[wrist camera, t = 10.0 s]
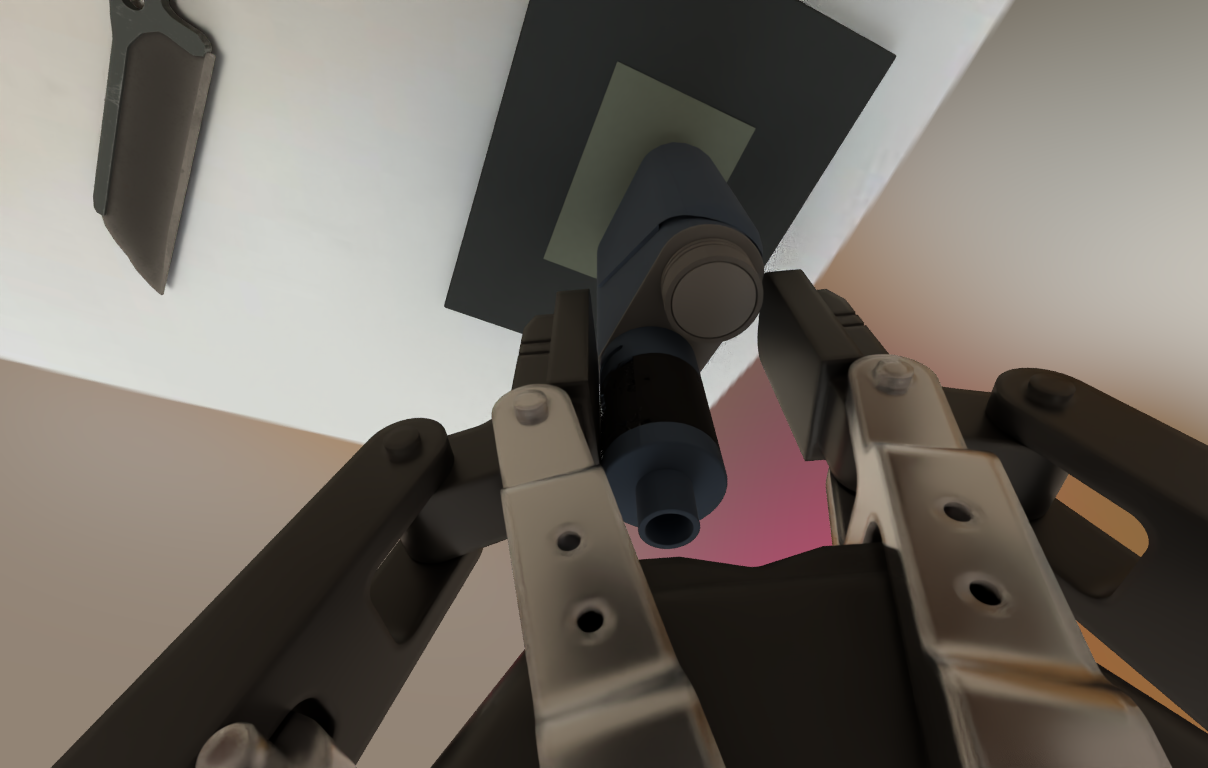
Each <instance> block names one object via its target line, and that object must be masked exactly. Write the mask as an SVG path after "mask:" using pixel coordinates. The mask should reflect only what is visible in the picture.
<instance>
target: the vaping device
mask: <svg viewBox="0 0 1208 768" xmlns="http://www.w3.org/2000/svg"><path fill="white" fill-rule="evenodd" d="M762 256H763V246H762V242H761V239H760V235H759V232H758V230H757V229H756V227H755V226H754V224H753V222H752V221H751V219H750V218H749V216H748V215H747V213H746V212H745V210H744V209H743V207H742V205H741V204H740V202H739V201H738V199H737V198H736V196H735V195H734V193H733V192H732V190H731V189H730V187H729V185H728V184H727V182H726V181H725V179H724V178H723V176H722V175H721V173H720V172H719V170H718V168H717V167H716V165H715V164H714V163H713V161H712V160H711V158H710V157H709V156H708V155H707V154H706V153H704V152H703V151H702V150H701V149H699V148H697V147H695V146H692V145H689V144H687V143H676V142H671V143H667V144H663V145H660V146H659V147H657V148H655V149H653V150H652V151H650V152H649V153H648V154H647V155H646V156H645V157H644V159H643V160H642V162H641V164H640V166H639V168H638V170H637V172H636V174H635V176H634V178H633V180H632V181H631V183H630V185H629V187H628V189H627V191H626V193H625V195H624V197H623V199H622V201H621V203H620V205H619V207H618V209H617V210H616V212H615V214H614V216H613V218H612V220H611V222H610V224H609V226H608V228H607V230H606V232H605V234H604V236H603V238H602V239H601V241H600V243H599V246H598V249H597V353H598V365H599V384H600V409H602V410H600V451H602V452H600V453H601V466H602V468H603V470H604V472H605V474H606V477H607V480H608V482H609V485H610V487H611V490H612V493H613V495H614V498H615V500H616V503H617V505H618V508H619V511H620V513H621V516H622V518H623V521H624V522H625V523H628V524H630V525H633V526H636V527H638V532H639V535H640V538H641V539H642V540H643V541H644V542H645V543H647V544H648V545H650V546H653V547H656V548H661V549H672V548H678V547H681V546H684V545H686V544H688V543H690V542H691V541H692V540H694V539H695V538H696V536H697V535H698V533H699V531H700V522H699V520H701V519H703V518H704V517H706V516H707V515H708V514H710V513H711V512H712V511H713V510H714V509H715V508H716V507H717V506H718V505H719V504H720V502H721V501H722V499H723V497H724V495H725V493H726V489H727V474H726V470H725V466H724V463H723V459H722V455H721V451H720V447H719V444H718V440H717V436H716V432H715V428H714V425H713V421H712V417H711V413H710V409H709V406H708V402H707V398H706V394H705V390H704V387H703V383H702V379H701V375H700V372H701V370H702V369H703V368H704V366H705V365H706V364H707V362H708V361H709V359H710V358H711V357H712V355H713V354H714V353H715V351H716V350H717V349H718V347H719V346H720V344H721V343H722V342H723V341H726V340H729V339H731V338H734V337H736V336H737V335H739V334H741V333H742V332H743V331H745V330H746V329H747V328H748V327H749V326H750V325H751V324H752V323H753V322H754V320H755V319H756V317H757V316H758V314H759V312H760V309H761V307H762V302H763V286H762V279H763V276H764V264H763V260H762ZM602 412H603V413H602ZM602 420H603V421H602ZM602 456H603V457H602Z"/></svg>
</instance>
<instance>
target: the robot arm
mask: <svg viewBox="0 0 1208 768" xmlns="http://www.w3.org/2000/svg"><path fill="white" fill-rule="evenodd" d="M762 286H763V302H762V307H761V309H760V312H759V323H758V352H759V357H760V360H761V363H762V365H763V368H764V370H765V372H766V374H767V377H768V379H769V381H770V383H771V386H772V388H773V390H774V392H775V395H776V397H777V399H778V401H779V404H780V406H781V408H782V410H783V413H784V415H785V417H786V419H787V421H788V424H789V426H790V428H791V431H792V433H793V435H794V437H795V439H796V442H797V444H798V446H799V448H800V451H801V453H802V455H803V457H804V460H805V461H814V460H826V461H827V463H828V465H829V469H828V474H827V479H826V493H827V502H828V510H829V519H830V528H831V537H832V545H833V546H822V547H819V548H816V549H813V550H810V551H807V552H803V553H801V554H797V555H794V556H791V557H788V558H785V559H782V560H779V561H775V562H772V563H769V564H766V565H763V566H759V567H746V566H739V565H732V564H726V563H719V562H712V561H705V560H699V559H692V558H684V557H671V558H670V557H669V558H657V559H642V560H638V557H637V555H636V552H635V549H634V547H633V544H632V542H631V539H630V537H629V534H628V531H627V529H626V526H625V524H624V521H623V518H622V516H621V513H620V511H619V508H618V505H617V503H616V500H615V498H614V495H613V493H612V490H611V487H610V485H609V482H608V480H607V477H606V474H605V472H604V470H603V468H602V466H601V453H600V452H601V451H600V396H599V365H598V353H597V345H596V336H595V328H594V320H593V311H592V303H591V295H590V290H589V289H580V290H569V291H558V292H557V293H556V301H555V310H554V314H545V315H535V316H534V317H533V319H532V320H531V321H530V322H529V323H528V324H527V325H526V326H525V327H524V329H523V334H522V339H521V345H520V349H519V356H518V359H517V364H516V369H515V374H514V379H513V385H512V390H511V391H510V392H508V393H506V394H505V395H503V396H502V397H501V398H500V399H499V400H498V401H497V402H496V403H495V405H494V407H493V409H492V419H491V420H489V421H487V422H486V423H484V424H481V425H479V426H476V427H474V428H471V429H467V430H464V431H461V432H457V433H454V434H451V435H448V436H447V434H446V431H445V428H444V427H443V426H442V425H441V424H440V423H439V422H437V421H435V420H432V419H427V418H412V419H406V420H402V421H399V422H396V423H393V424H391V425H389V426H387V427H385V428H383V429H382V430H380V431H379V432H377V433H376V434H375V435H373V436H372V437H371V438H370V439H369V440H368V441H367V442H366V443H365V444H364V445H363V446H362V447H361V448H360V450H359V451H358V452H357V453H356V454H355V455H354V456H353V457H352V458H351V459H350V460H349V461H348V462H347V463H346V464H345V465H344V466H343V467H342V468H341V469H340V470H339V471H338V472H337V473H336V474H335V475H334V476H333V477H332V479H330V480H329V482H328V483H327V484H326V485H325V486H324V487H323V488H322V489H321V490H320V491H319V492H318V493H317V494H316V495H315V496H314V497H313V498H312V499H311V500H310V501H309V502H308V503H307V504H306V505H305V506H304V507H303V508H302V509H301V510H300V512H298V513H297V514H296V516H295V517H294V518H293V519H292V520H291V521H290V522H289V523H288V524H287V525H286V526H285V527H284V528H283V529H282V530H281V531H280V532H279V533H278V534H277V535H276V536H275V537H274V538H273V539H272V540H271V541H270V542H269V543H268V544H267V545H266V546H265V547H264V549H263V550H262V551H261V552H260V553H259V554H258V555H257V556H256V557H255V558H254V559H253V560H252V561H251V562H250V563H249V564H248V565H247V566H246V567H245V568H244V569H243V570H242V571H241V572H240V573H239V574H238V575H237V576H236V577H235V579H233V580H232V582H231V583H230V584H229V585H228V586H227V587H226V588H225V589H224V590H223V591H222V592H221V593H220V594H219V595H218V596H217V597H216V598H215V599H214V600H213V601H212V602H211V603H210V604H209V605H208V606H207V607H206V608H205V609H204V611H202V613H201V614H200V615H199V616H198V617H197V618H196V619H195V620H194V621H193V622H192V623H191V624H190V625H189V626H188V627H187V628H186V629H185V630H184V631H183V632H182V633H181V634H180V635H179V636H178V637H177V638H176V639H175V640H174V641H173V642H172V643H171V644H170V645H169V646H168V648H167V649H166V650H165V651H164V652H163V653H162V654H161V655H160V656H159V657H158V658H157V659H156V660H155V661H154V662H153V663H152V664H151V665H150V666H149V667H148V668H147V669H146V670H145V671H144V672H143V673H142V675H140V676H139V678H138V679H136V681H135V682H134V683H133V684H132V685H131V686H130V687H129V688H128V689H127V690H126V691H125V692H124V693H123V694H122V695H121V696H120V697H119V698H118V699H117V700H116V701H115V702H114V703H113V705H111V706H110V707H109V709H107V710H106V711H105V713H104V714H103V715H102V716H101V717H100V718H99V719H98V720H97V721H96V722H95V723H94V724H93V725H92V726H91V727H90V728H89V729H88V730H87V731H86V732H85V733H84V734H83V735H82V736H81V737H80V738H79V740H77V741H76V742H75V743H74V745H73V746H72V747H71V748H70V749H69V750H68V751H67V752H66V753H65V754H64V755H63V756H62V757H61V758H60V759H59V760H58V761H57V762H56V763H55V764H54V765H53V766H52V768H356V766H355V765H356V764H357V762H358V760H359V759H360V757H361V755H362V754H363V752H364V750H365V749H366V747H367V745H368V744H369V742H370V740H371V739H372V737H373V735H374V733H375V732H376V730H377V729H378V727H379V725H380V724H381V722H382V720H383V718H384V717H385V715H386V713H387V712H388V710H389V708H390V707H391V705H392V703H393V702H394V700H395V698H396V697H397V695H398V693H399V692H400V690H401V688H402V687H403V685H404V683H405V682H406V680H407V678H408V677H409V675H410V673H411V671H412V670H413V668H414V666H415V665H416V663H417V661H418V660H419V658H420V656H421V655H422V653H423V651H424V650H425V648H426V646H427V644H428V642H429V641H430V640H431V638H432V636H433V634H434V633H435V631H436V630H437V628H438V626H439V625H440V623H441V621H442V620H443V618H444V616H445V614H446V613H447V611H448V609H449V608H450V606H451V604H452V603H453V601H454V599H455V598H456V596H457V594H458V593H459V591H460V589H461V588H462V586H463V584H464V583H465V581H466V579H467V578H468V576H469V574H470V572H471V571H472V569H473V567H474V566H475V564H476V562H477V561H478V559H479V557H480V555H481V553H482V550H483V548H484V547H487V546H489V545H492V544H495V543H498V542H500V541H503V540H506V539H508V545H509V551H510V558H511V563H512V570H513V577H514V583H515V589H516V595H517V602H518V608H519V615H520V620H521V627H522V634H523V640H524V647H525V649H524V651H523V652H522V653H521V654H520V656H519V657H518V658H517V660H516V661H515V662H514V664H513V665H512V666H511V667H510V668H509V670H508V671H507V672H506V673H505V675H504V676H503V677H502V678H501V680H500V681H499V682H498V684H497V685H496V686H495V687H494V688H493V690H492V691H491V693H490V694H489V695H488V696H487V697H486V699H485V700H484V701H483V702H482V704H481V705H480V706H479V707H478V709H477V710H476V711H475V712H474V714H473V715H472V716H471V718H470V719H469V720H468V721H467V722H466V724H465V725H464V726H463V728H462V729H461V730H460V731H459V733H458V734H457V735H456V736H455V738H454V739H453V740H452V741H451V743H450V744H449V745H448V746H447V748H446V749H445V750H444V751H443V753H442V754H441V755H440V756H439V758H438V759H437V760H436V762H435V763H434V764H433V765H432V767H431V768H1208V733H1206V732H1204V731H1203V730H1201V729H1200V728H1198V727H1196V726H1195V725H1193V724H1192V723H1190V722H1189V721H1187V720H1186V719H1184V718H1182V717H1181V716H1179V715H1178V714H1176V713H1174V712H1173V711H1171V710H1170V709H1168V708H1167V707H1165V706H1164V705H1162V704H1160V703H1159V702H1157V701H1156V700H1154V699H1153V698H1151V697H1149V696H1148V695H1146V694H1145V693H1143V692H1141V691H1140V690H1138V689H1137V688H1135V687H1133V686H1132V685H1130V684H1129V683H1127V682H1126V681H1124V680H1123V679H1121V678H1120V677H1118V676H1116V675H1115V674H1113V673H1112V672H1110V671H1109V670H1107V669H1105V668H1104V667H1102V666H1101V665H1099V664H1098V663H1096V662H1095V660H1094V658H1093V656H1092V654H1091V652H1090V650H1089V647H1088V646H1087V643H1086V641H1085V639H1084V637H1083V635H1082V633H1081V630H1080V629H1079V626H1078V624H1077V622H1076V620H1077V621H1078V622H1079V623H1080V624H1081V625H1083V626H1084V627H1085V628H1086V629H1087V630H1088V631H1090V632H1091V633H1092V634H1093V635H1094V636H1096V637H1097V638H1098V639H1099V640H1100V641H1101V642H1103V643H1104V644H1105V645H1106V646H1107V647H1109V648H1110V649H1111V650H1112V651H1114V652H1115V653H1116V654H1117V655H1118V656H1119V657H1121V658H1122V659H1123V660H1124V661H1125V662H1126V663H1128V664H1129V665H1130V666H1131V667H1132V668H1133V669H1135V670H1136V671H1137V672H1138V673H1139V674H1141V675H1142V676H1143V677H1144V678H1145V679H1146V680H1148V681H1149V682H1150V683H1151V684H1153V685H1154V686H1155V687H1156V688H1157V689H1158V690H1160V691H1161V692H1162V693H1163V694H1164V695H1165V696H1167V697H1168V698H1169V699H1170V700H1171V701H1173V702H1174V703H1175V704H1176V705H1177V706H1178V707H1180V708H1181V709H1182V710H1183V711H1185V712H1186V713H1187V714H1188V715H1189V716H1190V717H1192V718H1193V719H1194V720H1195V721H1196V722H1197V723H1199V724H1200V725H1201V726H1202V727H1203V728H1205V729H1206V730H1207V731H1208V445H1206V444H1204V443H1202V442H1200V441H1198V440H1196V439H1194V438H1192V437H1190V436H1188V435H1186V434H1184V433H1182V432H1180V431H1178V430H1176V429H1174V428H1172V427H1170V426H1168V425H1166V424H1164V423H1162V422H1160V421H1159V420H1157V419H1155V418H1153V417H1151V416H1149V415H1147V414H1145V413H1143V412H1141V411H1139V410H1137V409H1135V408H1133V407H1131V406H1129V405H1127V404H1125V403H1123V402H1121V401H1119V400H1117V399H1115V398H1113V397H1111V396H1109V395H1107V394H1105V393H1103V392H1102V391H1099V390H1098V389H1096V388H1094V387H1092V386H1090V385H1088V384H1086V383H1084V382H1082V381H1080V380H1077V379H1075V378H1073V377H1071V376H1068V375H1065V374H1062V373H1058V372H1055V371H1050V370H1045V369H1038V368H1018V369H1012V370H1009V371H1006V372H1004V373H1002V374H1001V375H999V377H998V378H997V380H996V382H995V385H994V387H993V390H992V392H982V391H973V390H964V389H955V388H948V387H942V386H941V384H940V382H939V379H938V378H937V376H936V374H935V373H934V372H933V371H932V370H931V369H929V368H928V367H927V366H925V365H923V364H921V363H919V362H917V361H915V360H912V359H909V358H905V357H902V356H896V355H889V353H888V352H887V351H886V350H885V349H884V347H883V346H882V345H881V343H880V342H879V341H878V340H877V338H876V337H875V336H874V335H873V333H872V332H871V331H870V330H869V328H868V327H867V326H866V325H865V326H864V322H863V321H862V320H861V319H860V317H859V316H858V315H856V314H855V311H854V310H853V308H852V307H851V306H850V305H849V303H848V302H847V301H846V300H845V299H844V298H842V297H840V296H838V295H836V294H835V293H833V292H831V291H829V290H827V289H821V290H816V289H815V287H814V286H813V285H812V283H811V282H810V280H809V279H808V278H807V276H806V275H805V274H804V272H803V271H802V270H801V269H797V270H786V271H775V272H766V273H765V274H764V276H763V279H762ZM1068 474H1070V475H1072V476H1073V477H1075V478H1076V479H1078V480H1079V481H1081V482H1082V483H1084V484H1085V485H1087V486H1089V487H1090V488H1092V489H1093V490H1095V491H1096V492H1098V493H1099V494H1101V495H1102V496H1104V497H1106V498H1107V499H1109V500H1111V501H1112V502H1113V503H1115V504H1116V505H1118V506H1119V507H1121V508H1123V509H1124V510H1126V511H1127V512H1129V513H1130V514H1132V515H1133V516H1134V517H1135V518H1136V519H1137V520H1138V521H1139V522H1140V523H1141V524H1142V525H1143V527H1144V528H1145V530H1146V532H1147V535H1148V538H1149V545H1148V548H1147V550H1146V552H1145V553H1144V554H1143V555H1142V557H1140V556H1138V555H1137V554H1135V553H1134V552H1132V551H1131V550H1130V549H1128V548H1127V547H1125V546H1124V545H1122V544H1121V543H1119V542H1118V541H1117V540H1115V539H1114V538H1112V537H1111V536H1109V535H1108V534H1106V533H1105V532H1103V531H1102V530H1101V529H1099V528H1098V527H1096V526H1095V525H1093V524H1092V523H1090V522H1089V521H1088V520H1086V519H1085V518H1084V517H1082V516H1080V515H1079V514H1078V513H1076V512H1075V511H1073V510H1072V509H1070V508H1069V507H1068V506H1066V505H1065V504H1063V503H1062V502H1060V501H1059V500H1058V499H1056V498H1055V497H1056V495H1057V494H1058V492H1059V490H1060V488H1061V487H1062V485H1063V483H1064V481H1065V479H1066V478H1067V476H1068ZM399 539H400V540H399ZM397 542H398V543H397ZM396 543H397V544H396ZM394 546H395V547H394ZM393 547H394V548H393ZM391 550H392V551H391ZM390 551H391V552H390ZM389 552H390V553H389ZM388 554H389V555H388ZM387 555H388V556H387ZM385 558H386V559H385ZM384 559H385V560H384ZM382 562H383V563H382ZM381 563H382V564H381ZM379 566H380V567H379ZM378 567H379V568H378Z"/></svg>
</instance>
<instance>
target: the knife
mask: <svg viewBox="0 0 1208 768" xmlns="http://www.w3.org/2000/svg"><path fill="white" fill-rule="evenodd" d="M109 3H110V18H111V26H112V37H113V40H112V48H111V56H110V64H109V72H108V80H107V88H106V96H105V104H104V112H103V120H102V128H101V136H100V144H99V153H98V161H97V169H96V177H95V185H94V193H93V202H94V208H95V210H96V212H97V213H99V214H101V215H102V218H103V221H104V224H105V226H106V228H107V229H108V231H109V232H110V234H111V236H112V237H113V239H114V240H115V241H116V243H117V244H118V245H119V246H120V248H121V249H122V250H123V251H124V253H125V254H126V255H127V256H128V258H129V259H130V261H131V263H132V264H133V266H134V267H135V269H136V270H137V271H138V273H139V274H140V275H141V276H142V277H143V278H144V279H145V280H146V281H147V282H148V283H149V285H150V286H151V287H152V288H154V289H155V290H156V291H157V292H158V293H159V294H161V295H163V294H164V290H165V285H166V281H167V276H168V272H169V267H170V263H171V258H172V253H173V249H174V244H175V240H176V235H177V231H178V226H179V222H180V217H181V212H182V208H183V203H184V199H185V194H186V190H187V185H188V181H189V176H190V171H191V167H192V162H193V158H194V153H195V149H196V144H197V140H198V135H199V130H200V126H201V121H202V117H203V112H204V108H205V103H206V99H207V94H208V89H209V85H210V80H211V76H212V71H213V67H214V62H215V58H216V56H215V55H214V54H212V53H211V43H210V42H209V40H208V39H207V38H206V36H205V35H204V33H202V32H201V31H199V30H197V29H196V28H194V27H193V26H191V25H190V24H188V23H187V22H185V21H184V20H182V19H181V18H180V17H178V16H177V15H176V14H175V12H174V11H173V10H172V9H171V7H170V5H169V0H144V6H143V9H139V8H137V7H136V6H134V5H133V4H132V2H131V1H130V0H109Z"/></svg>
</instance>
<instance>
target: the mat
mask: <svg viewBox="0 0 1208 768" xmlns="http://www.w3.org/2000/svg"><path fill="white" fill-rule="evenodd" d="M895 58H896V55H895V54H893V53H891V52H890V51H888V50H886V49H884V48H883V47H881V46H879V45H877V44H875V43H874V42H872V41H870V40H868V39H867V38H865V37H863V36H861V35H859V34H858V33H856V32H854V31H852V30H851V29H849V28H847V27H845V26H844V25H842V24H840V23H838V22H836V21H835V20H833V19H831V18H829V17H828V16H826V15H824V14H822V13H820V12H819V11H817V10H815V9H813V8H812V7H810V6H808V5H806V4H804V3H803V2H801V1H799V0H530V1H529V4H528V8H527V12H526V15H525V19H524V22H523V26H522V29H521V33H520V37H519V40H518V44H517V47H516V51H515V54H514V58H513V62H512V65H511V69H510V72H509V76H508V79H507V83H506V87H505V90H504V94H503V97H502V101H501V104H500V108H499V112H498V115H497V119H496V122H495V126H494V129H493V133H492V137H491V140H490V144H489V147H488V151H487V154H486V158H485V162H484V165H483V169H482V172H481V176H480V179H479V183H478V187H477V190H476V194H475V197H474V201H473V204H472V208H471V212H470V215H469V219H468V222H467V226H466V229H465V233H464V237H463V240H462V244H461V247H460V251H459V255H458V258H457V262H456V265H455V269H454V272H453V276H452V280H451V283H450V287H449V290H448V294H447V297H446V301H445V305H444V307H445V308H448V309H451V310H454V311H457V312H460V313H463V314H466V315H469V316H472V317H475V318H478V319H481V320H483V321H486V322H489V323H492V324H495V325H498V326H501V327H504V328H507V329H510V330H513V331H516V332H519V333H522V334H523V329H524V327H525V326H526V325H527V324H528V323H529V322H530V321H531V320H532V319H533V317H534V316H535V315H545V314H554V310H555V301H556V293H557V292H558V291H569V290H580V289H589V290H590V295H591V303H592V311H593V320H594V328H595V336H596V345H597V249H598V246H599V243H600V241H601V239H602V238H603V236H604V234H605V232H606V230H607V228H608V226H609V224H610V222H611V220H612V218H613V216H614V214H615V212H616V210H617V209H618V207H619V205H620V203H621V201H622V199H623V197H624V195H625V193H626V191H627V189H628V187H629V185H630V183H631V181H632V180H633V178H634V176H635V174H636V172H637V170H638V168H639V166H640V164H641V162H642V160H643V159H644V157H645V156H646V155H647V154H648V153H649V152H650V151H652V150H653V149H655V148H657V147H659V146H660V145H663V144H667V143H671V142H676V143H687V144H689V145H692V146H695V147H697V148H699V149H701V150H702V151H703V152H704V153H706V154H707V155H708V156H709V157H710V158H711V160H712V161H713V163H714V164H715V165H716V167H717V168H718V170H719V172H720V173H721V175H722V176H723V178H724V179H725V181H726V182H727V184H728V185H729V187H730V189H731V190H732V192H733V193H734V195H735V196H736V198H737V199H738V201H739V202H740V204H741V205H742V207H743V209H744V210H745V212H746V213H747V215H748V216H749V218H750V219H751V221H752V222H753V224H754V226H755V227H756V229H757V230H758V232H759V235H760V239H761V242H762V246H763V256H762V260H763V264H764V266H765V265H766V263H767V262H768V260H769V259H770V257H771V255H772V254H773V252H774V251H775V249H776V247H777V246H778V244H779V243H780V241H781V239H782V238H783V236H784V235H785V233H786V231H787V230H788V228H789V227H790V225H791V224H792V222H793V220H794V219H795V217H796V216H797V214H798V212H799V211H800V209H801V208H802V206H803V204H804V203H805V201H806V200H807V198H808V196H809V195H810V193H811V192H812V190H813V189H814V187H815V185H816V184H817V182H818V181H819V179H820V177H821V176H822V174H823V173H824V171H825V169H826V168H827V166H828V165H829V163H830V161H831V160H832V158H833V157H834V155H835V154H836V152H837V150H838V149H839V147H840V146H841V144H842V142H843V141H844V139H845V138H846V136H847V134H848V133H849V131H850V130H851V128H852V126H853V125H854V123H855V122H856V120H857V119H858V117H859V115H860V114H861V112H862V111H863V109H864V107H865V106H866V104H867V103H868V101H869V99H870V98H871V96H872V95H873V93H874V91H875V90H876V88H877V87H878V85H879V84H880V82H881V80H882V79H883V77H884V76H885V74H886V72H887V71H888V69H889V68H890V66H891V64H892V63H893V61H894V60H895Z"/></svg>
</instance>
